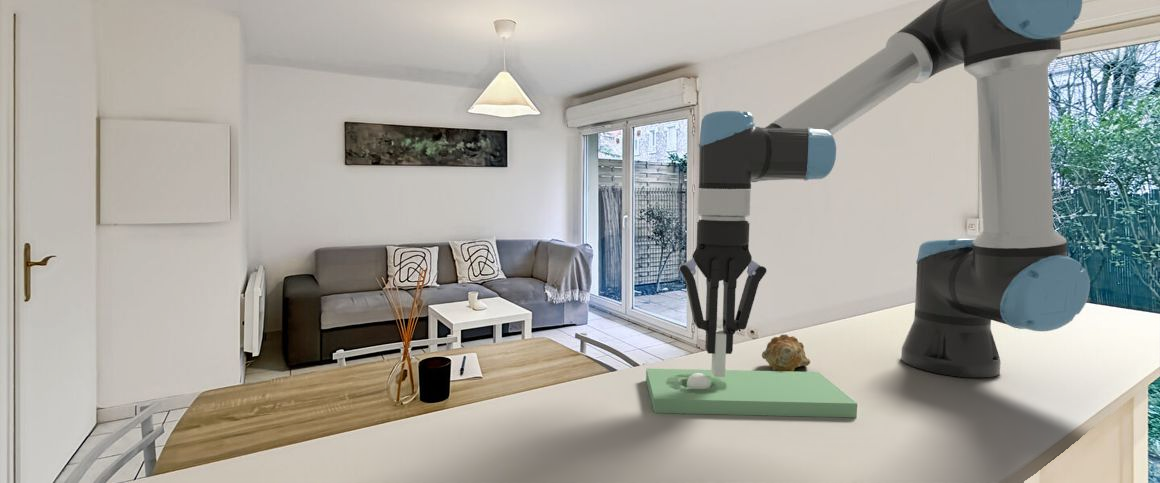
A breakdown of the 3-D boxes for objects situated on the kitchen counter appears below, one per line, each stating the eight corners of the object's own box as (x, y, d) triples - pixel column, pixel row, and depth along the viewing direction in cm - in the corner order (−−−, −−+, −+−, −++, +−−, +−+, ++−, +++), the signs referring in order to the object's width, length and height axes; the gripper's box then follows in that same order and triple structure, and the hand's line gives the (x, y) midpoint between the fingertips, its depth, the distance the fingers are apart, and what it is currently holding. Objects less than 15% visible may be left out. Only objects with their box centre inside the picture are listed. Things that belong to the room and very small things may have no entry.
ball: (691, 366, 88) (680, 386, 88) (695, 372, 85) (684, 394, 85) (712, 376, 88) (701, 396, 88) (717, 383, 85) (706, 404, 85)
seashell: (818, 392, 98) (819, 350, 93) (769, 397, 99) (767, 355, 94) (803, 355, 106) (803, 313, 101) (758, 360, 107) (756, 319, 102)
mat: (818, 384, 93) (818, 372, 93) (856, 417, 79) (857, 403, 79) (646, 380, 94) (646, 368, 94) (654, 412, 80) (654, 398, 80)
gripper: (760, 218, 88) (754, 367, 90) (675, 216, 88) (671, 365, 90) (775, 220, 80) (768, 383, 82) (682, 219, 81) (678, 381, 83)
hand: (718, 374), depth 86 cm, fingers closed
